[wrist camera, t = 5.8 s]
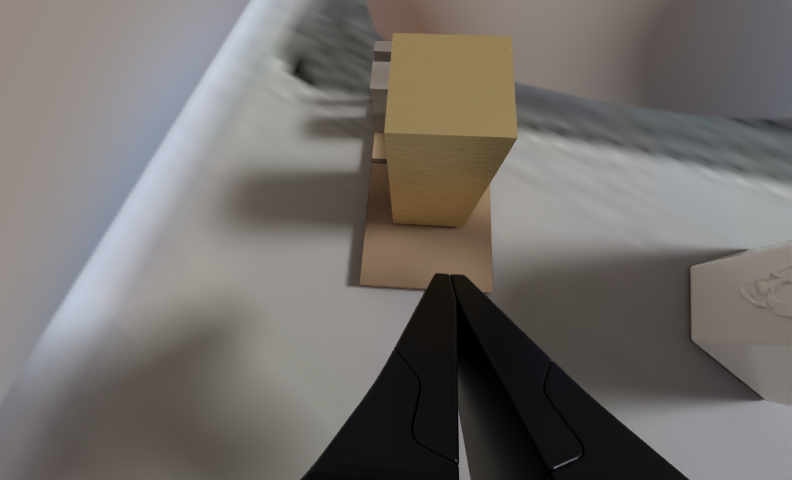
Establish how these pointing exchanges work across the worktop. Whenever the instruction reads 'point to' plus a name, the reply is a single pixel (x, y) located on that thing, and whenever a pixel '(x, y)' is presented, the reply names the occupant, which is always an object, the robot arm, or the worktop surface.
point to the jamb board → (415, 244)
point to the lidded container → (747, 316)
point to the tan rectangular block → (447, 123)
